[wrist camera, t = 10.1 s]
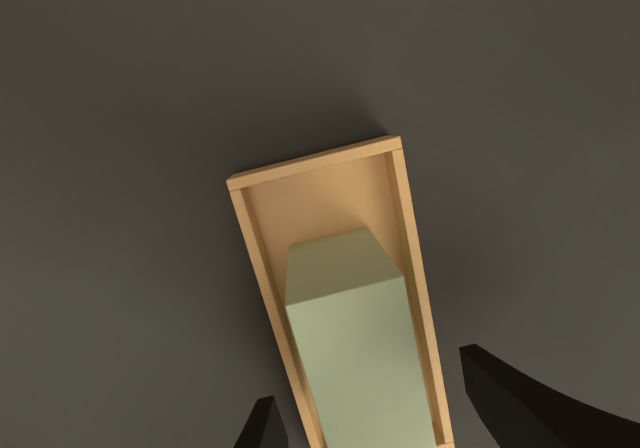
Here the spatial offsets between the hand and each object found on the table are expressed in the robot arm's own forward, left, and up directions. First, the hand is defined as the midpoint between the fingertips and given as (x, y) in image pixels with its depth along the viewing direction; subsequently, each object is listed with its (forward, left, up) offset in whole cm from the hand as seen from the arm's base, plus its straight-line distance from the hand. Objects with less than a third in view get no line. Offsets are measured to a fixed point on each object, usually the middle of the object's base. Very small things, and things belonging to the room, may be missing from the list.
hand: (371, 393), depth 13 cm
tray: (0, 0, -6) cm, 6 cm away
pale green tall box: (0, 0, -6) cm, 6 cm away
